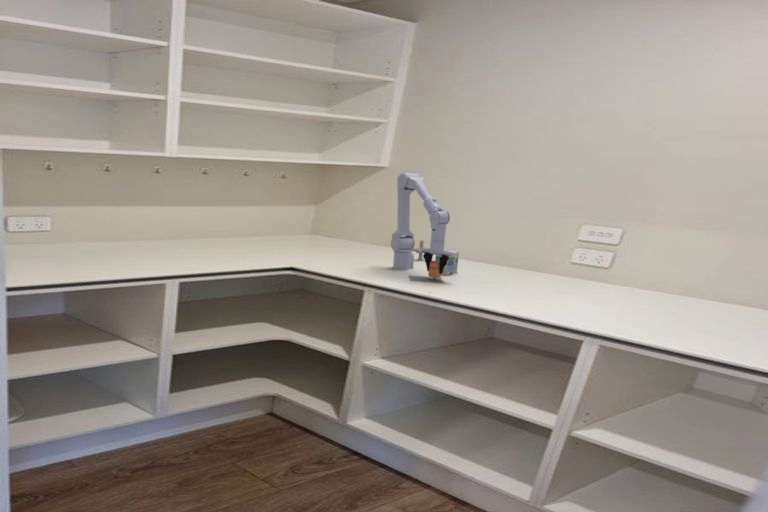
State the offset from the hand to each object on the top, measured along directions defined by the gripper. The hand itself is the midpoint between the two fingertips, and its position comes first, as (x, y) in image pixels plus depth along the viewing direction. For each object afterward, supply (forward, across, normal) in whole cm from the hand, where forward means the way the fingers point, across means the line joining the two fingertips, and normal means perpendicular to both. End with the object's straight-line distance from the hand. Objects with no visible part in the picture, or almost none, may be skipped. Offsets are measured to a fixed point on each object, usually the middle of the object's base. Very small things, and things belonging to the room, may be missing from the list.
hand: (434, 272), depth 218 cm
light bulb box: (+5, -1, +16) cm, 17 cm away
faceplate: (+4, -3, -2) cm, 6 cm away
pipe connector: (+5, -24, +41) cm, 48 cm away
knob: (+2, 0, 0) cm, 2 cm away
